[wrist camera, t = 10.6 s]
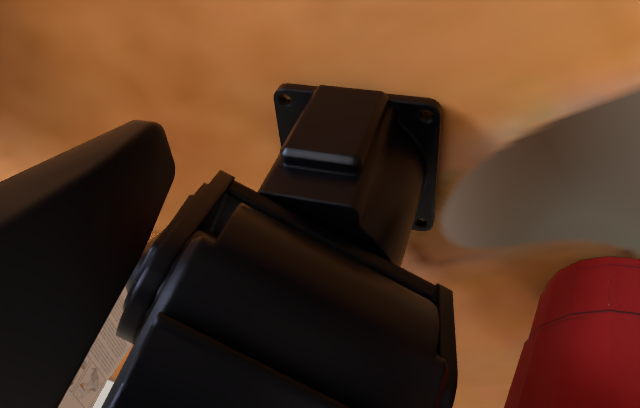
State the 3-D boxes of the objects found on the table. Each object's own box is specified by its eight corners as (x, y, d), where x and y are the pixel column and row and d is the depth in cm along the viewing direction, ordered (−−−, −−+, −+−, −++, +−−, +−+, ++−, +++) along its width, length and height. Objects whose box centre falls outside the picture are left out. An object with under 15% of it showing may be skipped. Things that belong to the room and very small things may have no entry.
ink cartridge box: (126, 306, 40) (34, 443, 33) (49, 178, 33) (-88, 321, 26) (157, 311, 39) (69, 453, 33) (86, 182, 32) (-46, 330, 25)
